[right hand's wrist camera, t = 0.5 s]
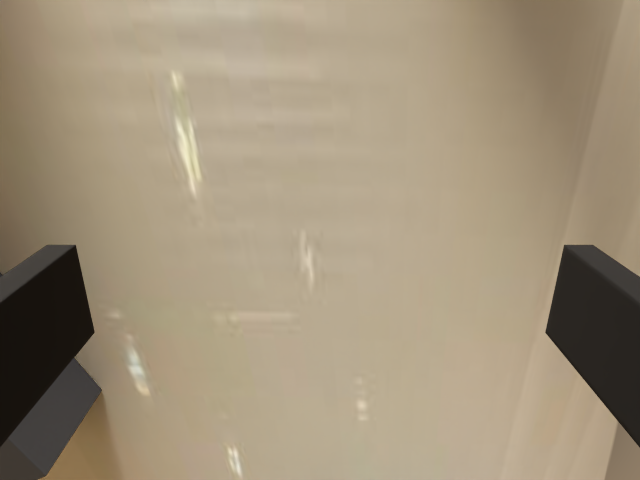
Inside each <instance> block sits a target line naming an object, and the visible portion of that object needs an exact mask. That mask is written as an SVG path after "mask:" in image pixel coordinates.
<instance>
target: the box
mask: <svg viewBox="0 0 640 480" xmlns="http://www.w3.org/2000/svg"><path fill="white" fill-rule="evenodd" d="M1 276H3V275H2V274H1V273H0V277H1ZM101 391H102V390H101V389H100V387H99V386H98V385H97V384H96V383H95V382H94V380H93V379H92V378H91V377H90V376H89V375H88V374H87V372H86V371H85V370H84V369H83V368H82V367H81V365H80V364H79V363H78V362H77V361H76V360H75V359H74V358H73V359H72V361H71V362H70V363H69V364H68V365H67V367H66V368H65V369H64V370H63V372H62V373H61V374H60V375H59V376H58V378H57V379H56V380H55V381H54V383H53V384H52V385H51V386H50V387H49V389H48V390H47V391H46V392H45V394H44V395H43V396H42V397H41V398H40V400H39V401H38V402H37V403H36V404H35V406H34V407H33V408H32V409H31V411H30V412H29V413H28V414H27V415H26V417H25V418H24V419H23V420H22V422H21V423H20V424H19V425H18V426H17V428H16V429H15V430H14V431H13V432H12V434H11V435H10V436H9V437H8V439H7V440H6V441H5V442H4V443H3V445H2V446H1V447H0V480H38V479H40V478H42V477H45V476H46V475H47V474H48V472H49V471H50V469H51V468H52V466H53V464H54V463H55V461H56V460H57V458H58V457H59V455H60V454H61V452H62V451H63V449H64V448H65V446H66V445H67V443H68V441H69V440H70V438H71V437H72V435H73V434H74V432H75V431H76V429H77V428H78V426H79V425H80V423H81V422H82V420H83V418H84V417H85V415H86V414H87V412H88V411H89V409H90V408H91V406H92V405H93V403H94V402H95V400H96V399H97V397H98V395H99V394H100V392H101Z"/></svg>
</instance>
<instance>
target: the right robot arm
mask: <svg viewBox="0 0 640 480" xmlns="http://www.w3.org/2000/svg"><path fill="white" fill-rule="evenodd" d="M94 333H95V332H94V328H93V323H92V318H91V314H90V309H89V304H88V300H87V295H86V290H85V286H84V281H83V277H82V272H81V267H80V263H79V258H78V253H77V249H76V245H46V246H45V247H43V248H42V249H41V250H39V251H38V252H36V253H35V254H33V255H32V256H30V257H29V258H27V259H26V260H25V261H23V262H22V263H20V264H19V265H17V266H16V267H14V268H13V269H11V270H10V271H8V272H7V273H6V274H4V275H3V276H1V277H0V447H1V446H2V445H3V443H4V442H5V441H6V440H7V439H8V437H9V436H10V435H11V434H12V432H13V431H14V430H15V429H16V428H17V426H18V425H19V424H20V423H21V422H22V420H23V419H24V418H25V417H26V415H27V414H28V413H29V412H30V411H31V409H32V408H33V407H34V406H35V404H36V403H37V402H38V401H39V400H40V398H41V397H42V396H43V395H44V394H45V392H46V391H47V390H48V389H49V387H50V386H51V385H52V384H53V383H54V381H55V380H56V379H57V378H58V376H59V375H60V374H61V373H62V372H63V370H64V369H65V368H66V367H67V365H68V364H69V363H70V362H71V361H72V359H73V358H74V357H75V356H76V355H77V353H78V352H79V351H80V350H81V348H82V347H83V346H84V345H85V344H86V342H87V341H88V340H89V339H90V337H91V336H92V335H93V334H94ZM545 333H546V334H547V335H548V336H549V337H550V339H551V340H552V341H553V342H554V344H555V345H556V346H557V347H558V348H559V350H560V351H561V352H562V353H563V355H564V356H565V357H566V358H567V359H568V361H569V362H570V363H571V364H572V365H573V367H574V368H575V369H576V370H577V372H578V373H579V374H580V375H581V376H582V378H583V379H584V380H585V381H586V383H587V384H588V385H589V386H590V387H591V389H592V390H593V391H594V392H595V394H596V395H597V396H598V397H599V398H600V400H601V401H602V402H603V403H604V404H605V406H606V407H607V408H608V409H609V411H610V412H611V413H612V414H613V415H614V417H615V418H616V419H617V420H618V422H619V423H620V424H621V425H622V426H623V428H624V429H625V430H626V431H627V432H628V434H629V435H630V436H631V437H632V439H633V440H634V441H635V442H636V443H637V445H638V446H639V447H640V277H639V276H637V275H636V274H634V273H633V272H632V271H630V270H629V269H627V268H626V267H624V266H623V265H621V264H620V263H618V262H617V261H615V260H614V259H613V258H611V257H610V256H608V255H607V254H605V253H604V252H602V251H601V250H599V249H598V248H597V247H595V246H594V245H564V249H563V253H562V258H561V263H560V267H559V272H558V277H557V281H556V286H555V290H554V295H553V300H552V304H551V309H550V314H549V318H548V323H547V328H546V332H545Z"/></svg>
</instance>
